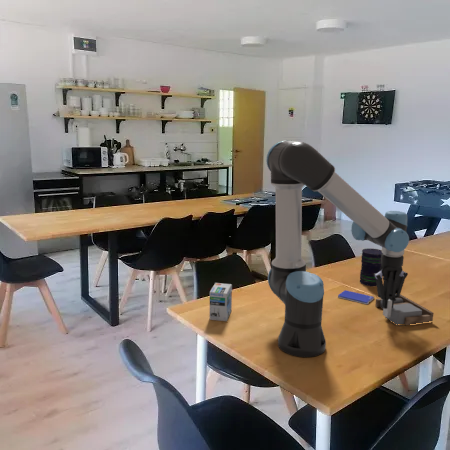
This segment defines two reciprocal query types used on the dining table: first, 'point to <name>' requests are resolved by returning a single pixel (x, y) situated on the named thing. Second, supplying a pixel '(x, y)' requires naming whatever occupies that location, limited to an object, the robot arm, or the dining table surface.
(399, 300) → the plain gray cylinder
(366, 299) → the hard drive
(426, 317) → the rack
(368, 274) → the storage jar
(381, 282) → the robot arm
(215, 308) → the light bulb box
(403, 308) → the plain gray cuboid
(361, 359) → the dining table surface
